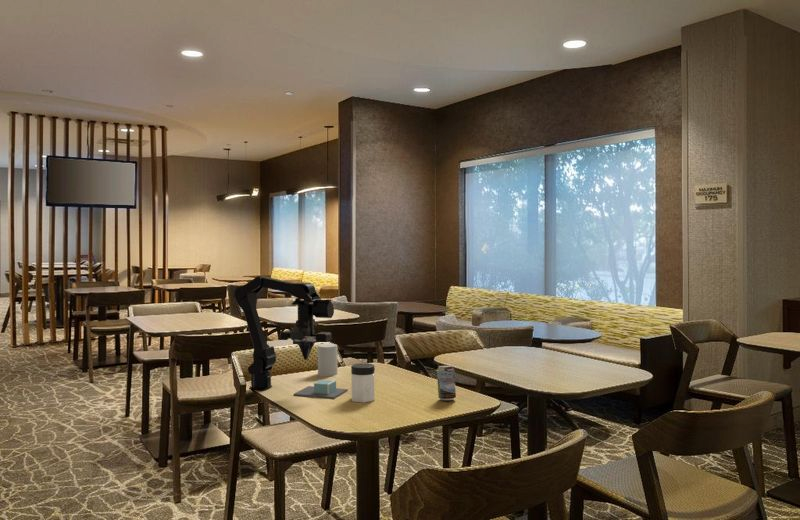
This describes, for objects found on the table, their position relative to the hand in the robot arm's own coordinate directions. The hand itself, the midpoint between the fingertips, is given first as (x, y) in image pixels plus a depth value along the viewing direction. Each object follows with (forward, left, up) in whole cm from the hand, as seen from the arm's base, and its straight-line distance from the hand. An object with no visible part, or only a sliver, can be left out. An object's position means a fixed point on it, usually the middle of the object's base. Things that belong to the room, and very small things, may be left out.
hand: (305, 359), depth 223 cm
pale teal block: (+5, 0, -10) cm, 11 cm away
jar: (+24, -4, -12) cm, 27 cm away
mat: (+6, 0, -12) cm, 13 cm away
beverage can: (+52, +4, -12) cm, 54 cm away
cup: (-5, +30, -12) cm, 33 cm away
